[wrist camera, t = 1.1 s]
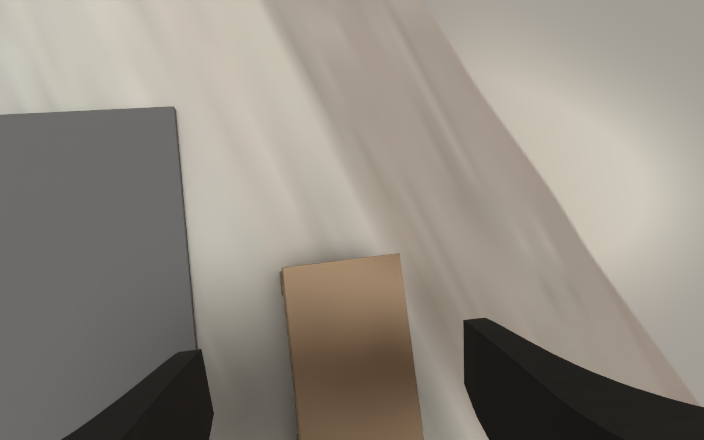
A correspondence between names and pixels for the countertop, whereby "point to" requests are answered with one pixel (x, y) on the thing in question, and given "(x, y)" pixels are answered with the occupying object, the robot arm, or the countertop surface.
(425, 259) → the countertop surface
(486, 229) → the countertop surface
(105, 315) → the mat
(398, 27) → the countertop surface
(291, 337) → the stool
